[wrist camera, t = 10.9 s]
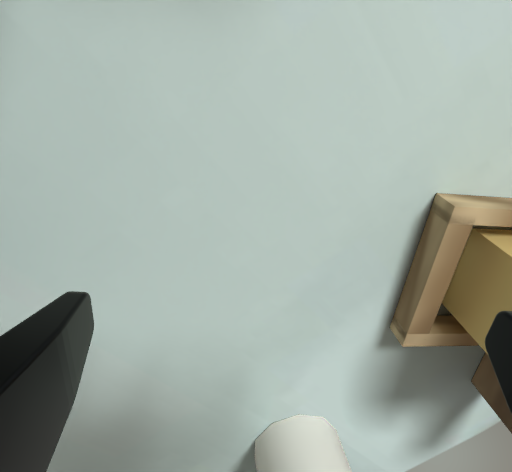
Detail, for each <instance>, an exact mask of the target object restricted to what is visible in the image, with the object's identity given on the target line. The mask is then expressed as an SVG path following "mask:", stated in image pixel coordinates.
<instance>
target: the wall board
mask: <svg viewBox="0 0 512 472" xmlns="http://www.w3.org/2000/svg"><path fill="white" fill-rule="evenodd" d="M473 225H482V226H502V227H512V198H501V197H486V196H471V195H456V194H440V193H436V196H435V198H434V201H433V204H432V207H431V210H430V213H429V216H428V219H427V221H426V224H425V227H424V230H423V233H422V236H421V239H420V242H419V244H418V247H417V250H416V253H415V256H414V259H413V262H412V265H411V267H410V270H409V273H408V276H407V279H406V282H405V285H404V288H403V290H402V293H401V296H400V299H399V302H398V305H397V308H396V311H395V314H394V316H393V319H392V322H391V325H390V329H391V330H392V332H393V333H394V335H395V336H396V338H397V339H398V341H399V342H400V344H401V345H402V347H411V346H475V345H479V344H478V343H477V342H476V341H475V340H474V339H473V338H472V336H471V335H470V334H469V333H468V332H467V331H466V330H465V329H464V327H463V326H462V325H461V324H460V323H459V322H458V321H457V320H456V318H455V317H454V316H453V315H437V313H438V311H439V308H440V306H441V303H442V301H443V298H444V296H445V294H446V291H447V289H448V286H449V284H450V281H451V279H452V276H453V274H454V271H455V269H456V266H457V264H458V262H459V259H460V257H461V254H462V252H463V249H464V247H465V244H466V242H467V239H468V237H469V234H470V232H471V230H472V227H473ZM471 382H472V383H473V385H474V386H475V387H476V389H477V390H478V391H479V392H480V394H481V395H482V396H483V397H484V399H485V400H486V401H487V403H488V404H489V405H490V406H491V408H492V409H493V410H494V411H495V413H496V414H497V415H498V417H499V418H500V419H501V420H502V422H503V423H504V424H505V425H506V427H507V428H508V429H509V431H510V432H511V433H512V414H511V412H510V410H509V407H508V405H507V403H506V400H505V397H504V395H503V392H502V390H501V387H500V384H499V382H498V379H497V377H496V374H495V371H494V369H493V366H492V364H491V361H490V358H489V356H488V354H487V353H486V352H485V354H484V356H483V358H482V360H481V362H480V364H479V366H478V368H477V370H476V372H475V374H474V376H473V378H472V380H471Z"/></svg>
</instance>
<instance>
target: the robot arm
mask: <svg viewBox="0 0 512 472" xmlns="http://www.w3.org/2000/svg"><path fill="white" fill-rule="evenodd" d="M93 330H94V320H93V312H92V305H91V299H90V296H89V294H88V293H87V292H73V291H71V292H67V293H65V294H63V295H62V296H60V297H59V298H57V299H56V300H54V301H53V302H51V303H50V304H48V305H47V306H45V307H44V308H42V309H41V310H39V311H38V312H36V313H35V314H33V315H32V316H30V317H29V318H27V319H26V320H24V321H23V322H21V323H20V324H18V325H17V326H15V327H14V328H12V329H11V330H9V331H8V332H6V333H5V334H3V335H2V336H0V472H46V471H47V468H48V466H49V463H50V461H51V458H52V456H53V453H54V451H55V448H56V446H57V443H58V441H59V438H60V436H61V433H62V431H63V428H64V426H65V423H66V421H67V418H68V416H69V413H70V411H71V408H72V406H73V403H74V400H75V397H76V394H77V390H78V387H79V383H80V379H81V376H82V372H83V368H84V364H85V361H86V357H87V353H88V350H89V346H90V342H91V339H92V335H93ZM485 347H486V351H487V353H488V356H489V358H490V361H491V364H492V366H493V369H494V371H495V374H496V377H497V379H498V382H499V384H500V387H501V390H502V392H503V395H504V397H505V400H506V403H507V405H508V407H509V410H510V412H511V414H512V311H500V312H499V313H498V314H497V315H496V316H495V319H494V321H493V323H492V325H491V327H490V329H489V331H488V333H487V335H486V338H485Z"/></svg>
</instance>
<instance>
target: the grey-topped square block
mask: <svg viewBox="0 0 512 472" xmlns="http://www.w3.org/2000/svg"><path fill="white" fill-rule="evenodd" d="M442 304H443V305H444V306H445V307H446V308H447V310H448V311H449V312H450V313H451V314H452V315H453V316H454V317H455V318H456V320H457V321H458V322H459V323H460V324H461V325H462V326H463V327H464V329H465V330H466V331H467V332H468V333H469V334H470V335H471V336H472V338H473V339H474V340H475V341H476V342H477V343H478V344H479V345H480V346H481V348H482V349H483V350H484V351H485V352H486V353H487V351H486V347H485V338H486V335H487V333H488V331H489V329H490V327H491V325H492V323H493V321H494V319H495V316H496V315H497V314H498V313H499V312H500V311H512V230H501V229H482V228H473V229H472V231H471V233H470V236H469V238H468V241H467V243H466V246H465V248H464V250H463V253H462V255H461V258H460V260H459V263H458V265H457V267H456V270H455V272H454V275H453V277H452V280H451V282H450V284H449V287H448V289H447V292H446V294H445V297H444V299H443V301H442ZM487 354H488V353H487Z"/></svg>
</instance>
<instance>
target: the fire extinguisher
mask: <svg viewBox="0 0 512 472" xmlns="http://www.w3.org/2000/svg"><path fill="white" fill-rule="evenodd" d="M255 463H256V469H257V472H352V471H351V468H350V465H349V463H348V460H347V457H346V455H345V452H344V449H343V447H342V444H341V441H340V438H339V436H338V433H337V430H336V429H335V428H334V427H333V426H332V425H331V424H330V423H329V422H328V421H327V420H326V419H325V418H324V417H319V416H309V415H300V414H298V415H295V416H292V417H289V418H286V419H283V420H280V421H277V422H275V423H272V424H271V425H270V426H269V427H268V428H267V429H266V430H265V431H264V432H263V433H262V434H261V435H260V436H259V437H258V438H257V439H256V440H255Z"/></svg>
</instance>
